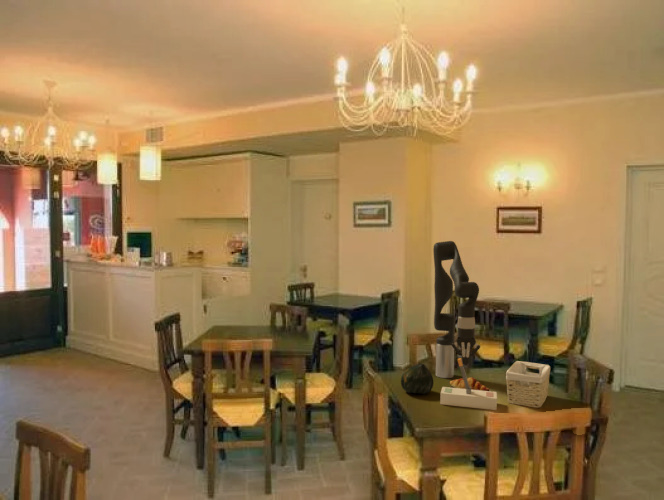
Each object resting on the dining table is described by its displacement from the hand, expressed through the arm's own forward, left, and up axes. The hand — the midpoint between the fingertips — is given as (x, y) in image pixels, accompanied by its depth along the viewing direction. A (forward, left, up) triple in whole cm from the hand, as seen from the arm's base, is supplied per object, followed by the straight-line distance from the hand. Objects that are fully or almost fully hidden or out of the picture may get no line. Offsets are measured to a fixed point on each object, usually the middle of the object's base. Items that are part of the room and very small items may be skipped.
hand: (465, 365), depth 244 cm
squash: (-9, -22, -18) cm, 30 cm away
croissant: (-20, +1, -18) cm, 27 cm away
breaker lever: (0, +2, -12) cm, 12 cm away
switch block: (-5, +2, -17) cm, 18 cm away
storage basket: (-15, +28, -18) cm, 36 cm away
